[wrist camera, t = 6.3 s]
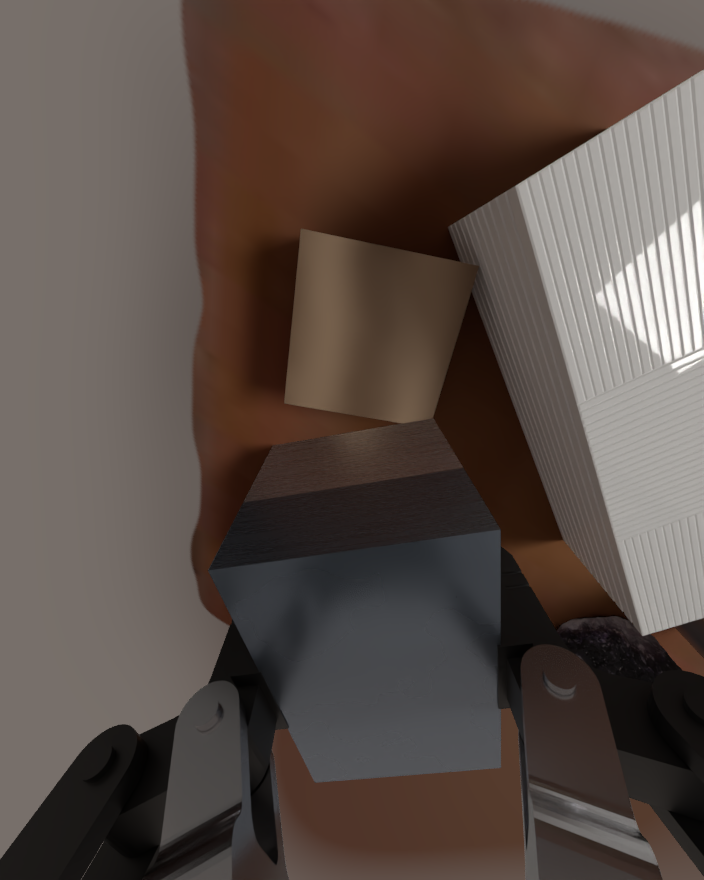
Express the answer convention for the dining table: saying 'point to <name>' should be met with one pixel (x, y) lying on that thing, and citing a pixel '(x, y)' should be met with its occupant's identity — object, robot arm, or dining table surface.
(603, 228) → the long white block
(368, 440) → the housing base plate
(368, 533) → the block
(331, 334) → the walnut stand
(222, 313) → the dining table surface
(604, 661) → the crystal cluster
